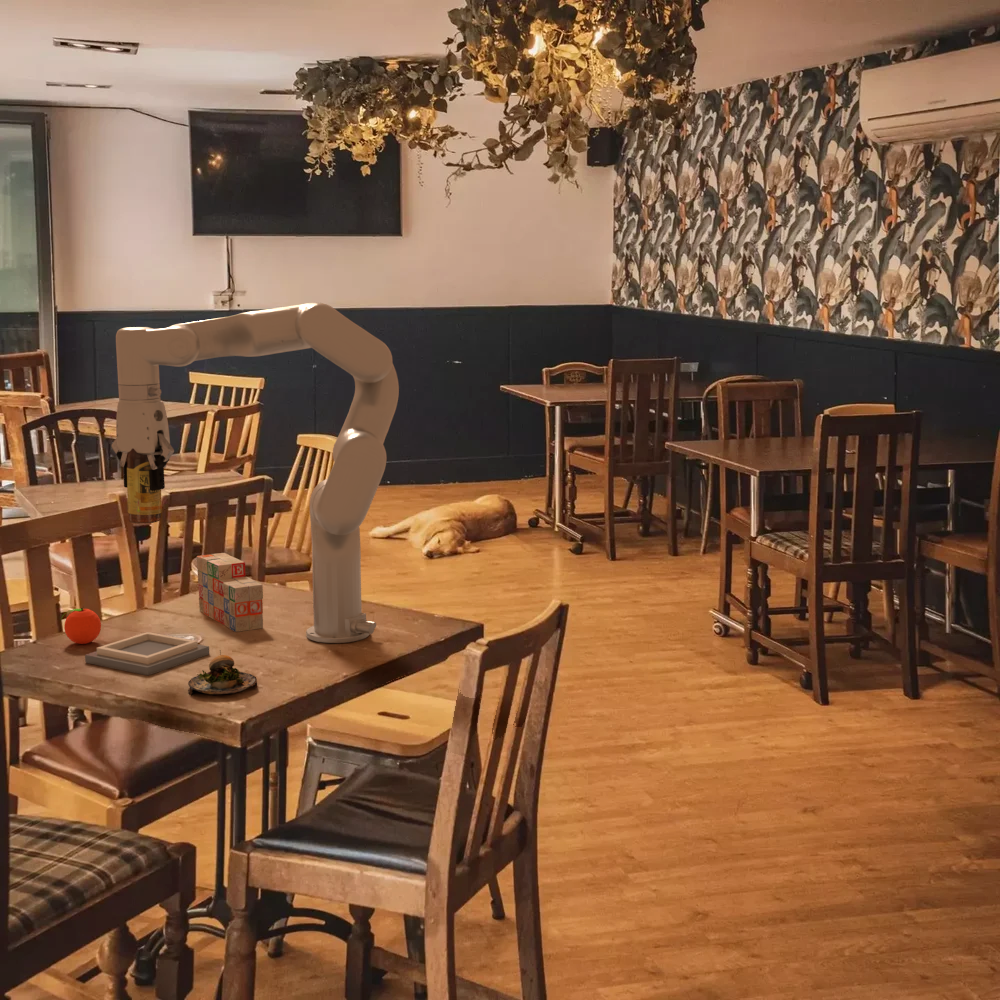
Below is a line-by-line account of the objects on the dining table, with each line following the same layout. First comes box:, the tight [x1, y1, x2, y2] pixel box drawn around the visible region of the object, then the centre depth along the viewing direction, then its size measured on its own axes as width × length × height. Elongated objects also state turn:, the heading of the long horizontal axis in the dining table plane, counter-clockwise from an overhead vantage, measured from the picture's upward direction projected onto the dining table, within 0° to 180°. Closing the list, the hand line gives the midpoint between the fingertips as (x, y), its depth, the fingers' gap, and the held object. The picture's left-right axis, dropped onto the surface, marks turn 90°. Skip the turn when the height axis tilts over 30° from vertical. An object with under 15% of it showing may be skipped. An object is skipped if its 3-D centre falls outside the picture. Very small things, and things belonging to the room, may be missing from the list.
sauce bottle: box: [126, 448, 163, 524], centre depth 257 cm, size 6×6×20 cm
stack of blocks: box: [196, 552, 264, 633], centre depth 284 cm, size 21×6×12 cm, turn 32°
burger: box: [187, 651, 258, 696], centre depth 237 cm, size 12×12×8 cm
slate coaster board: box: [84, 631, 210, 676], centre depth 256 cm, size 16×16×3 cm
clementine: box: [60, 607, 102, 645], centre depth 266 cm, size 8×7×7 cm
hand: (144, 487), depth 258 cm, fingers closed on sauce bottle, 6 cm apart
